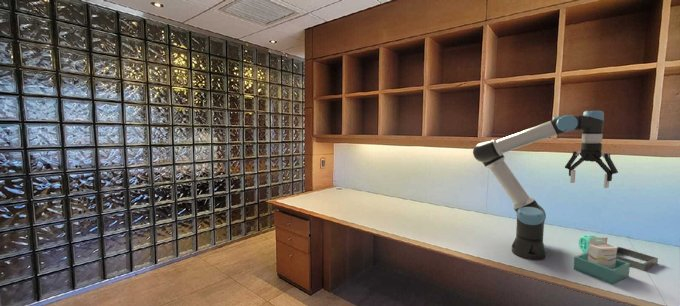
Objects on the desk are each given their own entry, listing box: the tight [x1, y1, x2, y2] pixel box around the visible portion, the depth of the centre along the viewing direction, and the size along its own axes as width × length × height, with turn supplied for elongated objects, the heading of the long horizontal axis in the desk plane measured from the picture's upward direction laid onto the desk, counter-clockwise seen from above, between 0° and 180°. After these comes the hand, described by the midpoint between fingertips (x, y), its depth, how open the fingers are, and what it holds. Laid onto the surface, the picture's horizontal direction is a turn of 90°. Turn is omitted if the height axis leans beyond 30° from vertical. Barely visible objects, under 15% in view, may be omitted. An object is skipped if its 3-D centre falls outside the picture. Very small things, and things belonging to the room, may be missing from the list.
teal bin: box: [573, 252, 631, 285], centre depth 125 cm, size 14×14×6 cm
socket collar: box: [616, 246, 659, 272], centre depth 135 cm, size 14×14×3 cm
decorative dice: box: [578, 234, 602, 253], centre depth 144 cm, size 8×8×8 cm
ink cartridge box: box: [588, 236, 617, 270], centre depth 124 cm, size 9×5×15 cm, turn 92°
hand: (588, 185), depth 138 cm, fingers open, 13 cm apart
